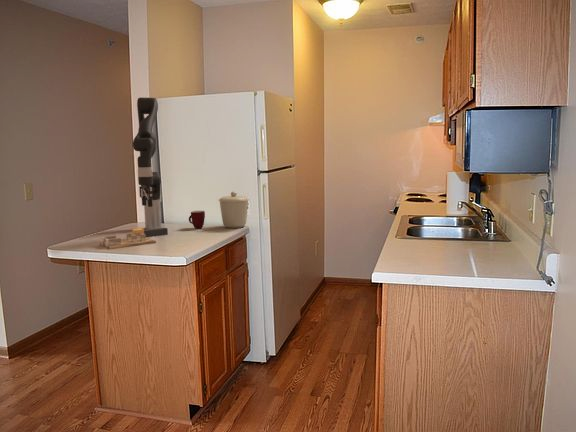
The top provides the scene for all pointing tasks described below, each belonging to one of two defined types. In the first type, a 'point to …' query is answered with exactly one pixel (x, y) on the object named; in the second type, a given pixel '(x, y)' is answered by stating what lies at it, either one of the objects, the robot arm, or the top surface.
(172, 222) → the top surface
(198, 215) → the mug
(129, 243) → the board
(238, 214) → the canister
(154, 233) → the grey and orange bar
